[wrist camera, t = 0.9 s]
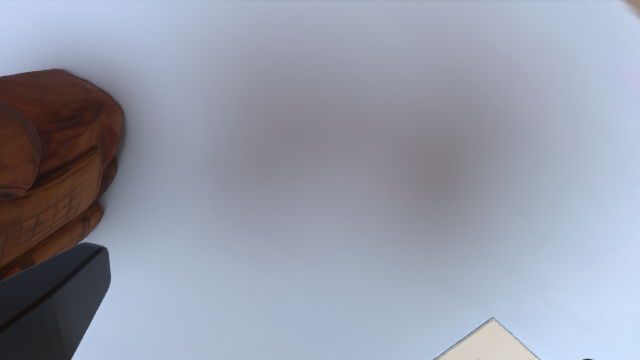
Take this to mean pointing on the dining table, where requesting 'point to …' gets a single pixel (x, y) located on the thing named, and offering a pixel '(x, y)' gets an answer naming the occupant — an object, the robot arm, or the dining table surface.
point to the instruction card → (488, 345)
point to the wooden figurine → (52, 164)
